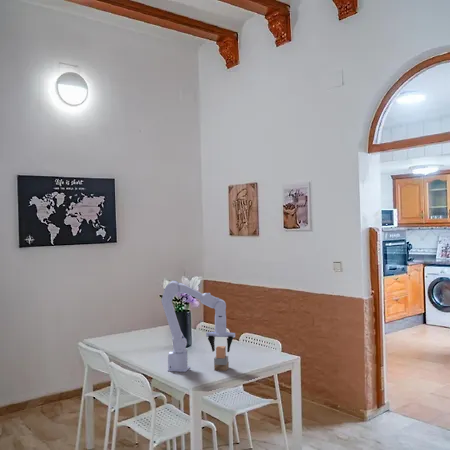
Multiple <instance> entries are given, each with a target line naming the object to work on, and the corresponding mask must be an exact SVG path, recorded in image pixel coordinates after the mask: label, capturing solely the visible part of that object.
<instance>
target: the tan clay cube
mask: <svg viewBox="0 0 450 450" xmlns="http://www.w3.org/2000/svg"><path fill="white" fill-rule="evenodd" d="M226 346H227V345H226ZM226 346H225V345H217V346H216V347H215V357H216V358H225V357H226V356H227V353H226V352H227V348H226Z"/></svg>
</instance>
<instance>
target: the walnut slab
mask: <svg viewBox="0 0 450 450" xmlns="http://www.w3.org/2000/svg"><path fill="white" fill-rule="evenodd" d="M229 362H230V361H228V363H227V365H214V367H213V368H214V371H218V370H219V371H223V372H224V371H225V372H227V370H228V369H229V367H230V365H229Z"/></svg>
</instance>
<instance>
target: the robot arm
mask: <svg viewBox="0 0 450 450" xmlns="http://www.w3.org/2000/svg"><path fill="white" fill-rule="evenodd" d="M177 294H178V295H181V294H187V295H189V296H191V297H193V298H196V299H198V300H199V301H200V304H202V305H204V306H206V307H209V308H210V309H214V313H215V314H214V331H207V332H206V333H205V337H206V338H207V337H208V338H207V340H208V342H209V344H210V347H211V351H212V353H213V352H216V347H215V346H216V345H215V341H216V340H215V338H219V337H220V338H226V346H227V348H226V352H227V353H229V352H230V351H231V345H232V342H233V340H234V338H236V332H229V331H227V311H226V309H227V303H226V301H225V300H224V299H222V298H220V297H216V296H214V295H212V294H211V292H204V293H202V292H200V291H198V290H197V289H195V288H192V287H190V286H189V285H187V284H186V283H185V284H184V283H183V282H179V281H178V280H171V281H170V282H168V283H167V285H166V286H165V288H164V289H163V292H162V297H161V305H162V308H163V311H164V315H165V317H166V321H167V323H168V326H169V329H170V334H171V337H172V338H171V339H172V349H173V350H172V351H171V350H170V351H169V352H168V356H167V371H168V372H181V373H182V372H183V373H186V372H187V371H188V370H189V369H190V368H191V366H188V365H189V364H188V359H189V358H188V349H187V345H188V340H187V338H186V337H185V336H184V334H183V332H182V330H181V326H180V323H179V320H178V318H177V314H176V310H175V308H174V304H173V299H174V297H175V296H176V295H177Z"/></svg>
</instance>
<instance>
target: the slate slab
mask: <svg viewBox="0 0 450 450" xmlns="http://www.w3.org/2000/svg"><path fill="white" fill-rule="evenodd" d="M213 359H214V360H213V364H214V365H227V363H228V362H229V355H226V357H225V358H216V356H215V357H214V358H213Z"/></svg>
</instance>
